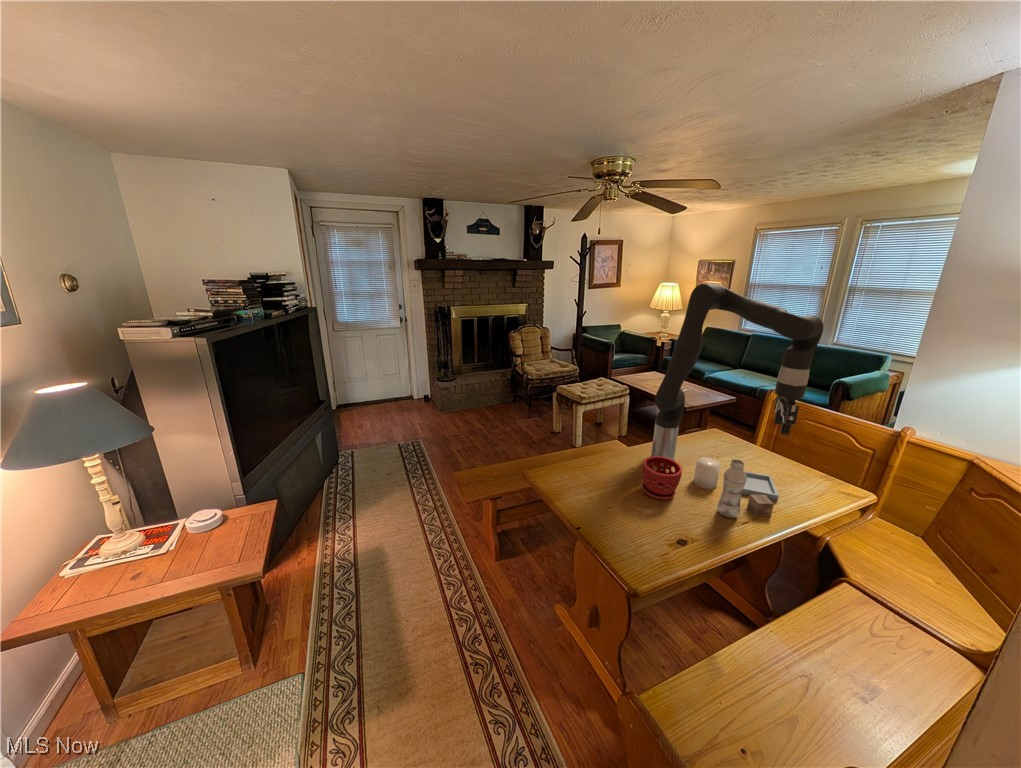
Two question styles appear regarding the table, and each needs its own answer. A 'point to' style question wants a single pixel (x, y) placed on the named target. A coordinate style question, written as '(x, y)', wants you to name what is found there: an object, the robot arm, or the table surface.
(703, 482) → the white domed cylinder
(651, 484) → the plant pot
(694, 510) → the table surface
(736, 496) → the plastic bottle
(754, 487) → the tray
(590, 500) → the table surface
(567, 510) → the table surface
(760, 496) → the walnut block
